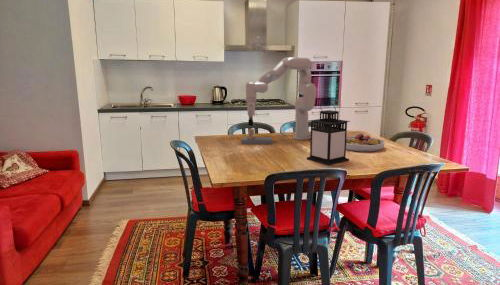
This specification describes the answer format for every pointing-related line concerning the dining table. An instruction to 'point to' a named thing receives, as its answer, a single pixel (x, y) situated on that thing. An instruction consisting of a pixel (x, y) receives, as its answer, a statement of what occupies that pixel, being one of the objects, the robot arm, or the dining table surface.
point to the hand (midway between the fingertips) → (250, 125)
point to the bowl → (363, 143)
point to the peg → (251, 133)
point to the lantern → (328, 139)
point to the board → (256, 140)
